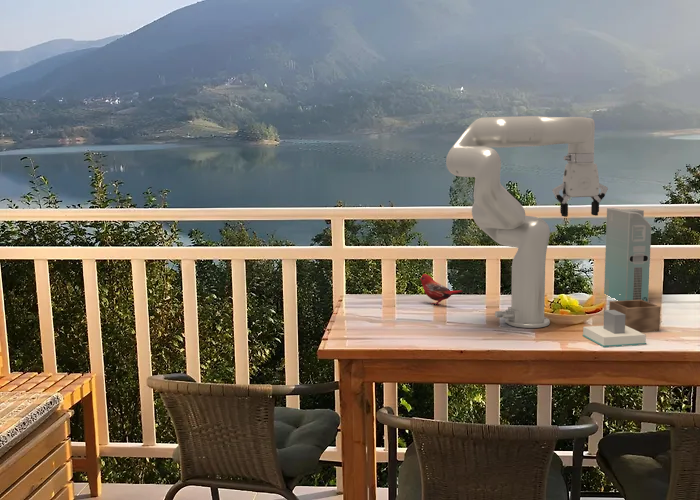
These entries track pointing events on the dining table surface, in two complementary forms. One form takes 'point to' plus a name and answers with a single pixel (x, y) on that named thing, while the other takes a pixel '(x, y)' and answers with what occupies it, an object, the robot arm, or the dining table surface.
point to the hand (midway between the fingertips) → (579, 215)
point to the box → (638, 314)
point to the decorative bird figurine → (435, 289)
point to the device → (627, 255)
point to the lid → (614, 331)
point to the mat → (610, 345)
